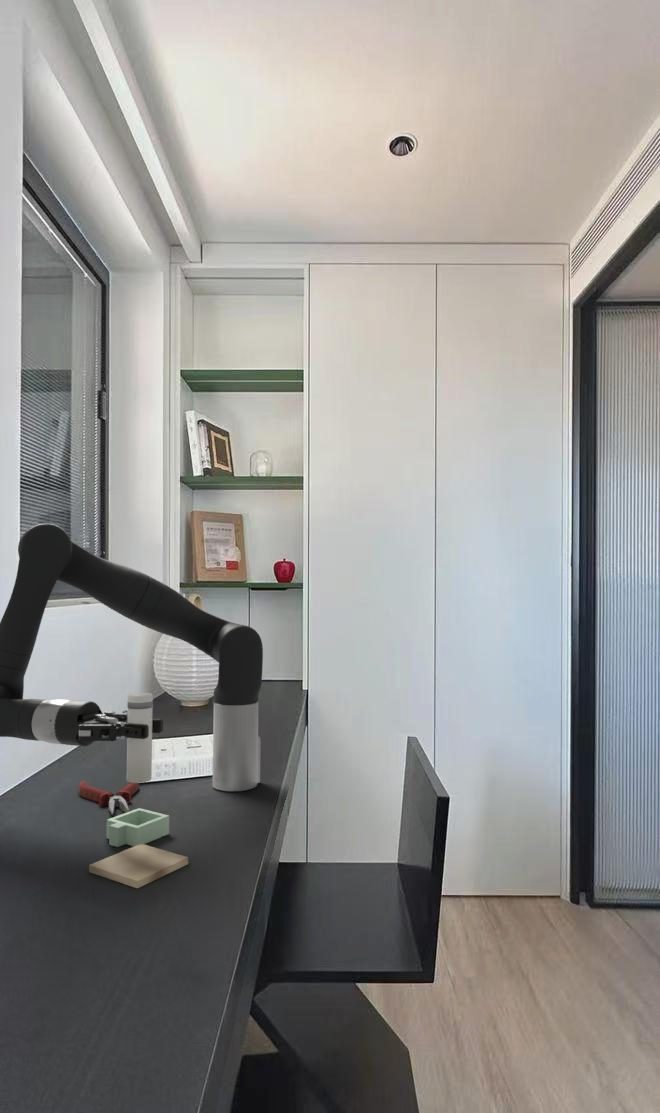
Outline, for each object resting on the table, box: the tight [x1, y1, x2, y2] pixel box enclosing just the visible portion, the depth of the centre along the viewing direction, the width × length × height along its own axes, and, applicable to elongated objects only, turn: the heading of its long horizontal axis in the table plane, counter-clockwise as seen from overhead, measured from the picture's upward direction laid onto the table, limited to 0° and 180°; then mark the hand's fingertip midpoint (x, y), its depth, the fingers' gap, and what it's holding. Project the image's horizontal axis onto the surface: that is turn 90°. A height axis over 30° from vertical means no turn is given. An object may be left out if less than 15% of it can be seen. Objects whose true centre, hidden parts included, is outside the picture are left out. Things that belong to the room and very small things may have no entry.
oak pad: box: [88, 844, 189, 889], centre depth 105 cm, size 10×10×1 cm
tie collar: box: [105, 807, 170, 848], centre depth 117 cm, size 9×7×3 cm
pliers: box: [78, 780, 140, 816], centre depth 136 cm, size 12×20×3 cm, turn 24°
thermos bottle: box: [126, 692, 154, 784], centre depth 118 cm, size 4×4×14 cm
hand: (154, 729), depth 117 cm, fingers closed on thermos bottle, 4 cm apart
